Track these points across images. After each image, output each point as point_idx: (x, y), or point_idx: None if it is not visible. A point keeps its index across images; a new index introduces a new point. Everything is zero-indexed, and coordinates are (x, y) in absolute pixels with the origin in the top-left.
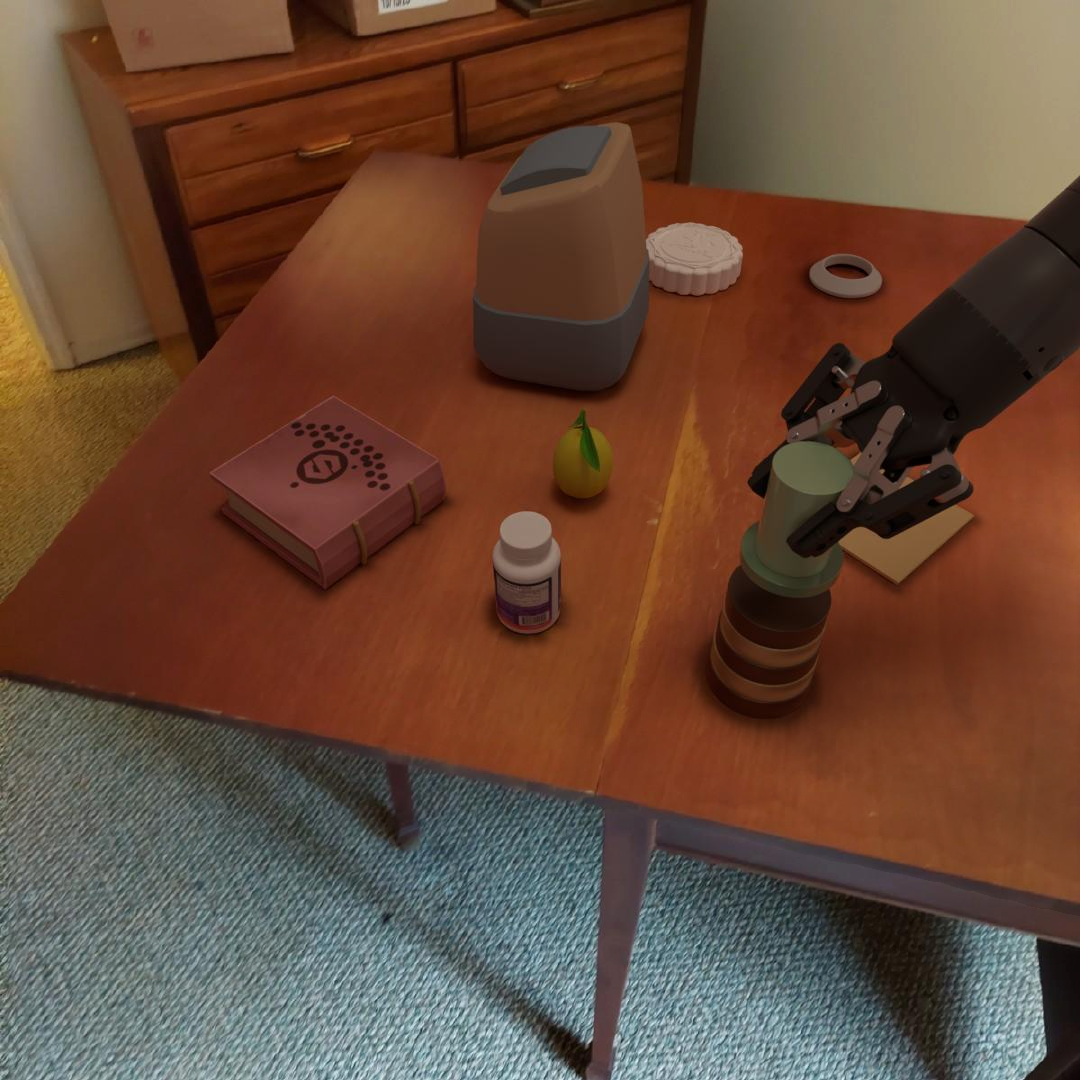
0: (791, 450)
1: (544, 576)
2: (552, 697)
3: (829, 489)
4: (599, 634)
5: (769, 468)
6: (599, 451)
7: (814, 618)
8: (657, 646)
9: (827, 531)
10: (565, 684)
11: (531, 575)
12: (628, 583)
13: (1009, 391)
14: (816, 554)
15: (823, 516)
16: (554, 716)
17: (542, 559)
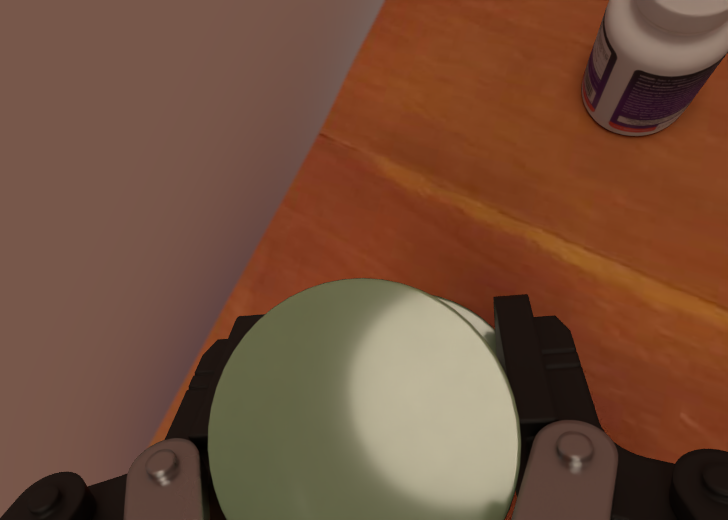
0: (469, 389)
1: (612, 37)
2: (463, 102)
3: (228, 436)
4: (564, 186)
5: (508, 343)
6: None
7: None
8: (523, 266)
9: (185, 400)
10: (481, 122)
11: (612, 11)
12: (667, 256)
13: None
14: None
15: (209, 400)
16: (433, 100)
17: (641, 24)
